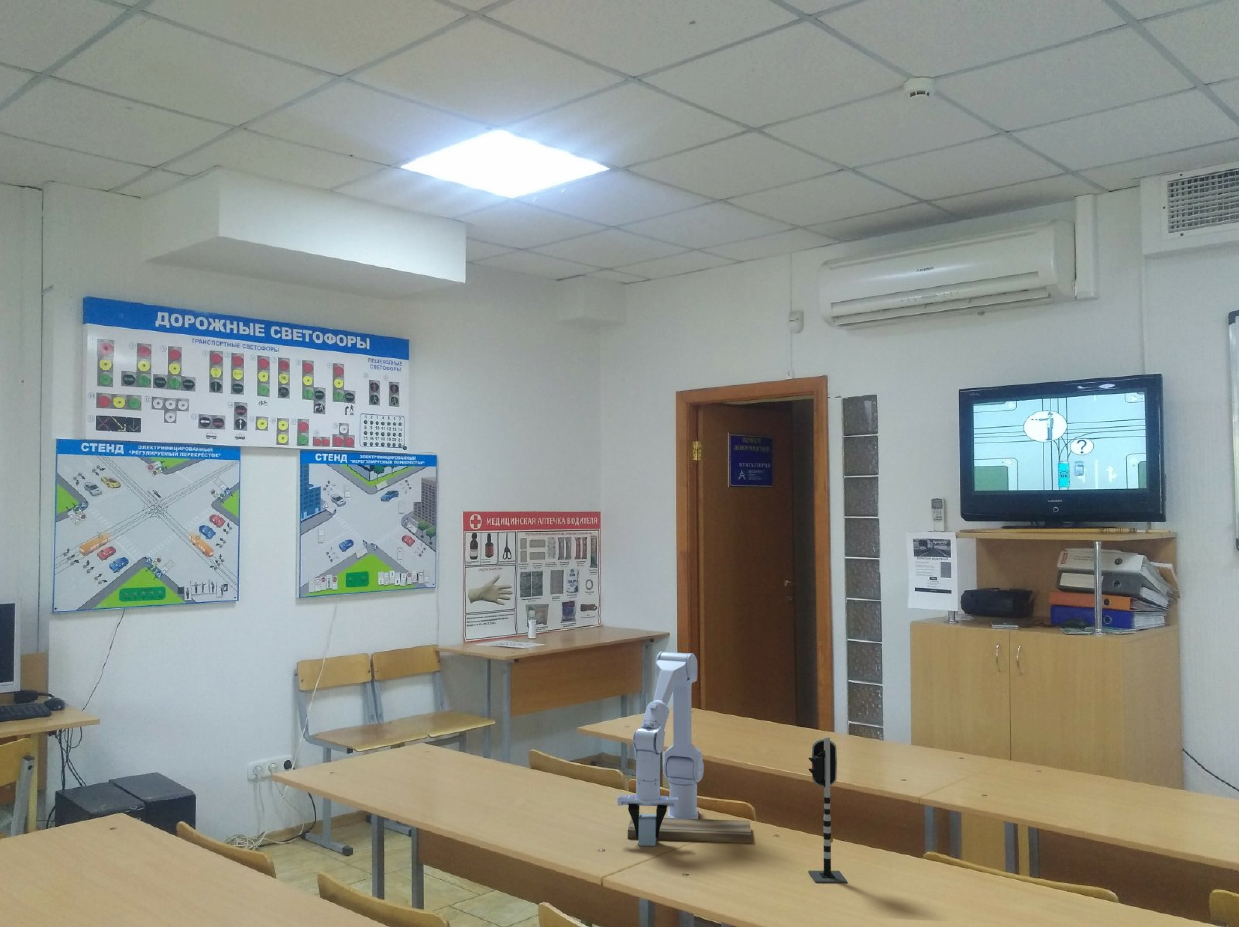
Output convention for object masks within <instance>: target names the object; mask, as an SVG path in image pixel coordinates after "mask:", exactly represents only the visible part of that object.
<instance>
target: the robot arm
mask: <svg viewBox="0 0 1239 927" xmlns="http://www.w3.org/2000/svg"><path fill="white" fill-rule="evenodd" d="M654 662H655V663H654V664H655V665H654V667H655V671H656V677H657V682H656V688H655V692H654V697H653V700H652V701H651V702H649V703H648V704H647V706H646V709H645V712H644V715H643V718H642V721H641V724H640V727H639V728H637V729H636V730H634V733H633V735H632V736H633V737H632V748H633V749H632V750H633V752H634V759H635V760H636V766H635V767H636V768H635V769H636V770H635V771H636V773H635V774H636V775H635V776H636V778H635V781H636V785H635V788H636V789H635V794H628V795H626V794H625V795H623V794H621V795H620V794H619V795H617V806H628V807H627V810H628V813H629V815H630V819H631V818H632V820H633V823H634V827H635V831H636V837H639V816H640V806H644V807H645V806H647V807H656V810H655V812H656V813H655V814H656V838H659V830H660V826H661V823H662V821H663V818H665V816H666V814H667V817H666V818H685V819H699V809H698V807H697V806H698V798H697V797H698V795H697V794H698V783H699V782H700V781H701V780H702V779H703V776H704V772H705V770H704V769H705V764H704V761H703V760H704V759H703V752H702V751H701V750H700V749H699V748H698V747H697V746H696V745H694V744H693V743H692V741H693V740H692V736H693V734H692V730H693V729H692V686H693V685H692V684H693V683H695V682H697V681H698V659H697V656H696V654H694V653H693V652H692V653H691V652H690V653H689V652H687V653H685V652H684V653H683V652H671V651H668V652H667V651H661V650H660V651H659V652H658V654H656V657H655V661H654ZM672 695H673V696H672ZM671 697H672V701H673V702H672V706H673V708H672V710H673V711H672V712H673V713H672V717H673V718H672V723H673V725H672V727H673V728H672V731H673V732H672V733H673V734H672V736H673V739H672V742H673V744H672V745H670V746H669V747H668V748H666V750H665V751H664V756H663V763H662V773H663V776H664V777H665V779H667V783H669V796H666V795H661V794H660V792H661V788H660V787H661V753H662V751H663V749H664V746H665V736H666V731H665V728H666V725H667V721H668V718H669V715H670V708H669V707H668V704H669V702H670V699H671ZM668 807H669V808H668Z"/></svg>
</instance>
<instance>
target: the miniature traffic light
mask: <svg viewBox="0 0 1239 927" xmlns="http://www.w3.org/2000/svg"><path fill="white" fill-rule="evenodd" d="M837 755H838V754H837V744H835V742H833V741H832V740H831V737H830V736H824V738H822V739H818V740H816V741H815V742H813V744H812V745H811V757H808V761H810V762H811V768H808V771H809V772H810V773H811V779H812V781H813V783H814V784H815V785H817V786H818V787H822V788H823V803H824V804H823V806H824V808H823V870H808V871H807V873H808V874H809V876H810V877H811V878H812V881H813V882H814V883H815V884H848V880H847V879H846V878H845V877H844V875H843V873H842V872H841V871H840V870H832V843H833V842H834V838H833V836H831V835H832V816H831V786H832V785H834V784H835V783H836V781H837V779H838V778H837V775H838V773H837V772H838V756H837Z"/></svg>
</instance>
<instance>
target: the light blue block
mask: <svg viewBox="0 0 1239 927" xmlns="http://www.w3.org/2000/svg"><path fill="white" fill-rule="evenodd" d="M656 844H657V840H656V813H655V814H654V813H653V814H650V813H649V814H648V813H639V839H638V846H642V847H643V846H645V847H647V846H649V847H656Z"/></svg>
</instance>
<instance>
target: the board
mask: <svg viewBox="0 0 1239 927" xmlns="http://www.w3.org/2000/svg"><path fill="white" fill-rule="evenodd" d="M752 836H753V835H752V829H751V822H750V820H737V819H735V820H734V819H733V820H732V819H712V818H711V819H709V818H707V819H705V818H698V819H685V818H667V817H664V818H663V821H662V823H661V826H660V830H659V838H656V841H658V840H659V841H660V840H661V841H666V840H667V841H687V842H707V843H708V842H711V843H712V842H713V843H716V842H717V843H734V844H735V843H738V844H739V843H740V844H741V843H742V844H752V843H753V842H752V840H753V839H752ZM627 839H636V840H639V837H636V831H635V827H634V823H633V820H632V818H631V817H630V821H629V824H628V828H627Z"/></svg>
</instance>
